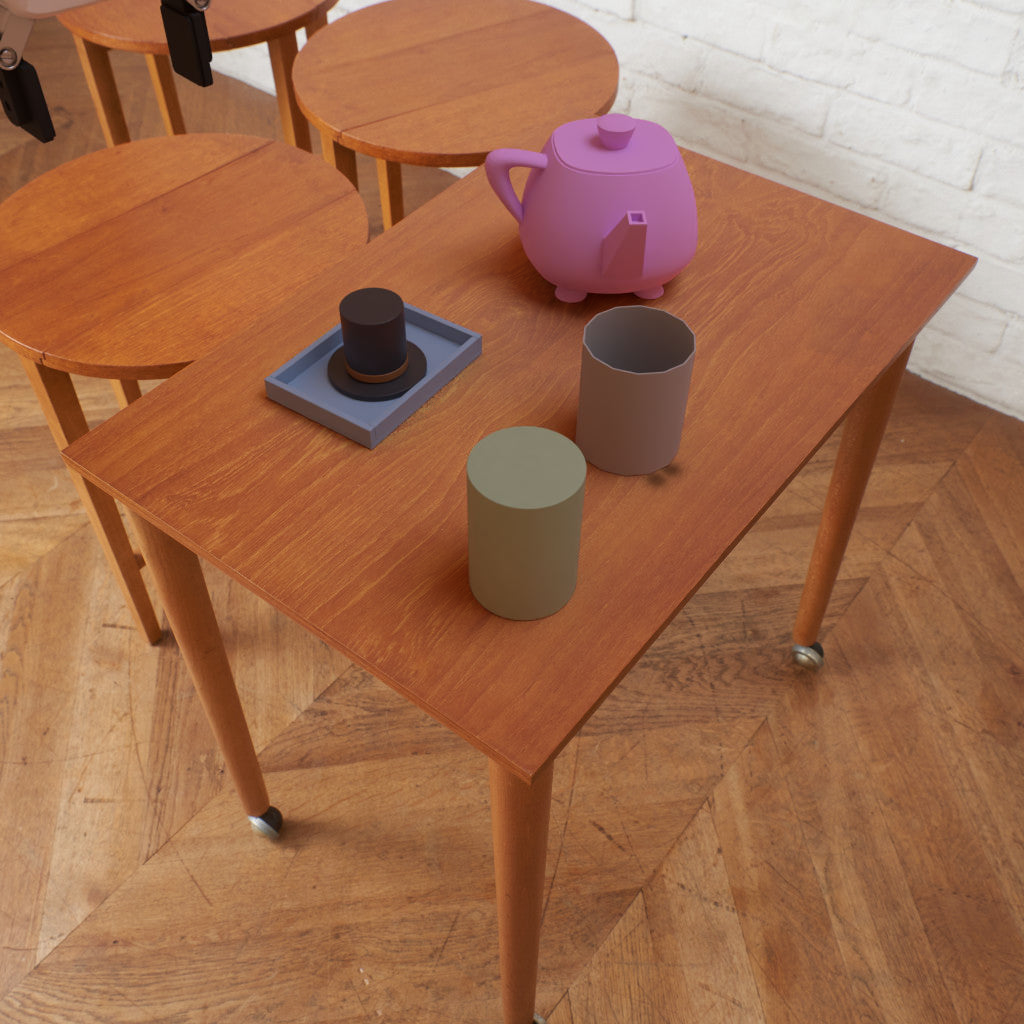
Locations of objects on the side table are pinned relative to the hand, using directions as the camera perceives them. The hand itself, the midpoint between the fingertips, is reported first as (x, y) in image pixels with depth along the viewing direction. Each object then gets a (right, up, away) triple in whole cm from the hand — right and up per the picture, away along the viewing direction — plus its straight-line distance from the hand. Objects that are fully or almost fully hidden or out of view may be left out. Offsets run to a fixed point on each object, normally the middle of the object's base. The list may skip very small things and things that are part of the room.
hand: (118, 105), depth 58 cm
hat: (+10, -10, +31) cm, 35 cm away
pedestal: (+23, -27, +16) cm, 39 cm away
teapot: (+29, -1, +42) cm, 51 cm away
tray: (+10, -11, +32) cm, 35 cm away
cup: (+31, -17, +27) cm, 44 cm away
